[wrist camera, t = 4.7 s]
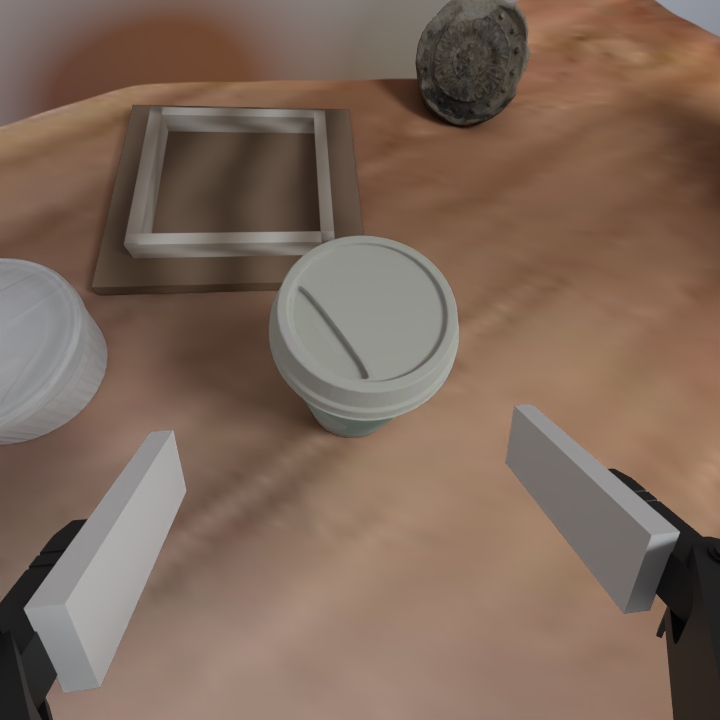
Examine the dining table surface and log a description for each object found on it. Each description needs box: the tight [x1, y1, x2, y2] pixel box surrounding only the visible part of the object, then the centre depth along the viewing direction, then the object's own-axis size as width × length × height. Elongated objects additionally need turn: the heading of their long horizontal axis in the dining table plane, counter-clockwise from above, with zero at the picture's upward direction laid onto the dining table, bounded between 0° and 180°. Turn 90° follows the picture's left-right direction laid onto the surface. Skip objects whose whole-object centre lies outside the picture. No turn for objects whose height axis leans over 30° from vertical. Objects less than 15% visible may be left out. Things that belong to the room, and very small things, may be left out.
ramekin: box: [0, 258, 108, 445], centre depth 23 cm, size 11×11×5 cm
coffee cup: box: [269, 236, 459, 438], centre depth 21 cm, size 8×8×12 cm
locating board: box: [92, 105, 364, 295], centre depth 32 cm, size 20×20×2 cm
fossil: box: [416, 0, 529, 126], centre depth 38 cm, size 11×9×10 cm
